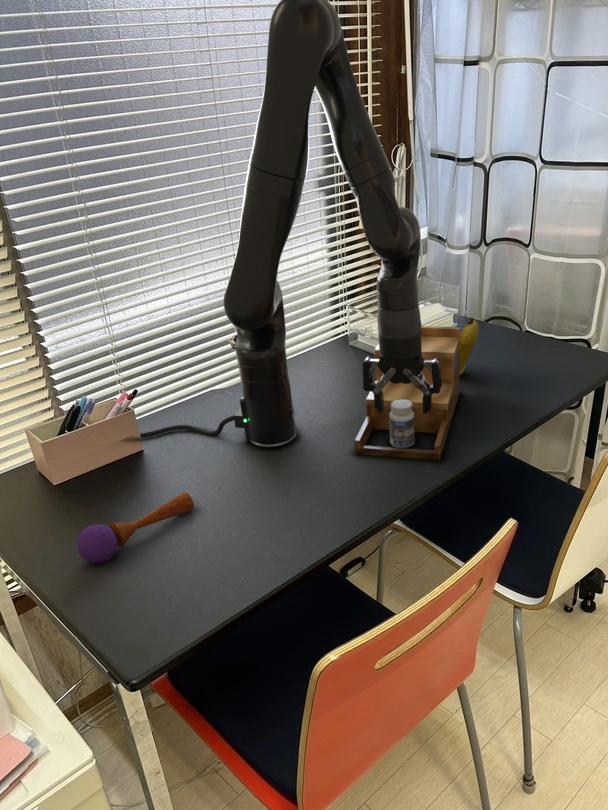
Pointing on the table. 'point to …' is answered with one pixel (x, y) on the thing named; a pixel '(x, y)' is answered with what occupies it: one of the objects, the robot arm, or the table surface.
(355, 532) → the table surface
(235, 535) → the table surface
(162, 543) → the table surface
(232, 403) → the table surface
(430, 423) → the stepped rack
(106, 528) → the kendama
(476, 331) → the banana bunch
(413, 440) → the pill bottle
